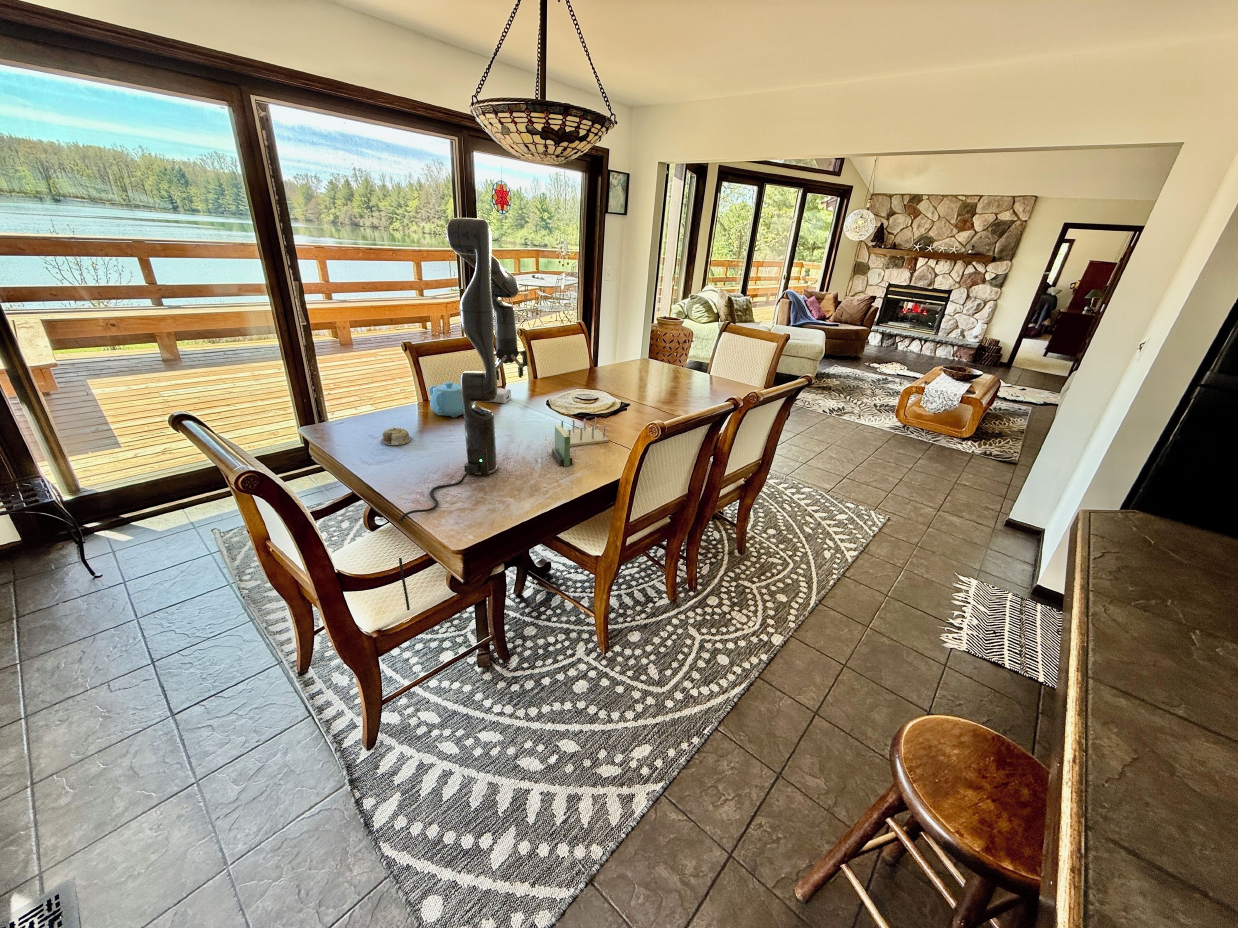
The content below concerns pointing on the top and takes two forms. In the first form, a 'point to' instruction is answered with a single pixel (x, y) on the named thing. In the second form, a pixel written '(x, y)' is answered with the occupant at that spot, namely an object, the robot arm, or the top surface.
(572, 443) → the dish rack
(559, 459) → the pair of dark bars
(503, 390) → the charger
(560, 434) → the lid
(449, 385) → the decorative pot
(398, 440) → the cake
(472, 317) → the robot arm
